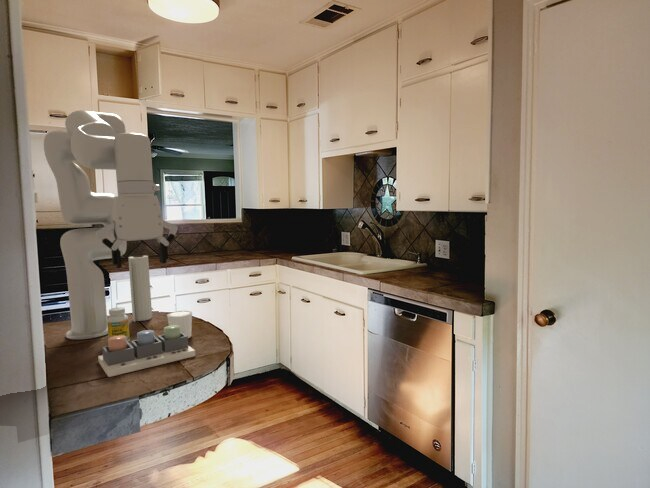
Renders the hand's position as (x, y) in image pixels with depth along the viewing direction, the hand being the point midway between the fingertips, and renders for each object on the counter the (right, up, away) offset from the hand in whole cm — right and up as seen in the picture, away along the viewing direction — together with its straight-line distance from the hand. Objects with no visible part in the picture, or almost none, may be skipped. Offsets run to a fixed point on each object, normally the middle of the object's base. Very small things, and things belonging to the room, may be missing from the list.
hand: (141, 265), depth 99 cm
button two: (-2, -21, +9) cm, 22 cm away
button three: (+3, -20, +12) cm, 24 cm away
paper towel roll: (-20, -21, +46) cm, 54 cm away
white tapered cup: (0, -22, +26) cm, 34 cm away
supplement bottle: (-16, -23, +23) cm, 36 cm away
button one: (-8, -21, +5) cm, 23 cm away
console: (-2, -24, +9) cm, 26 cm away
